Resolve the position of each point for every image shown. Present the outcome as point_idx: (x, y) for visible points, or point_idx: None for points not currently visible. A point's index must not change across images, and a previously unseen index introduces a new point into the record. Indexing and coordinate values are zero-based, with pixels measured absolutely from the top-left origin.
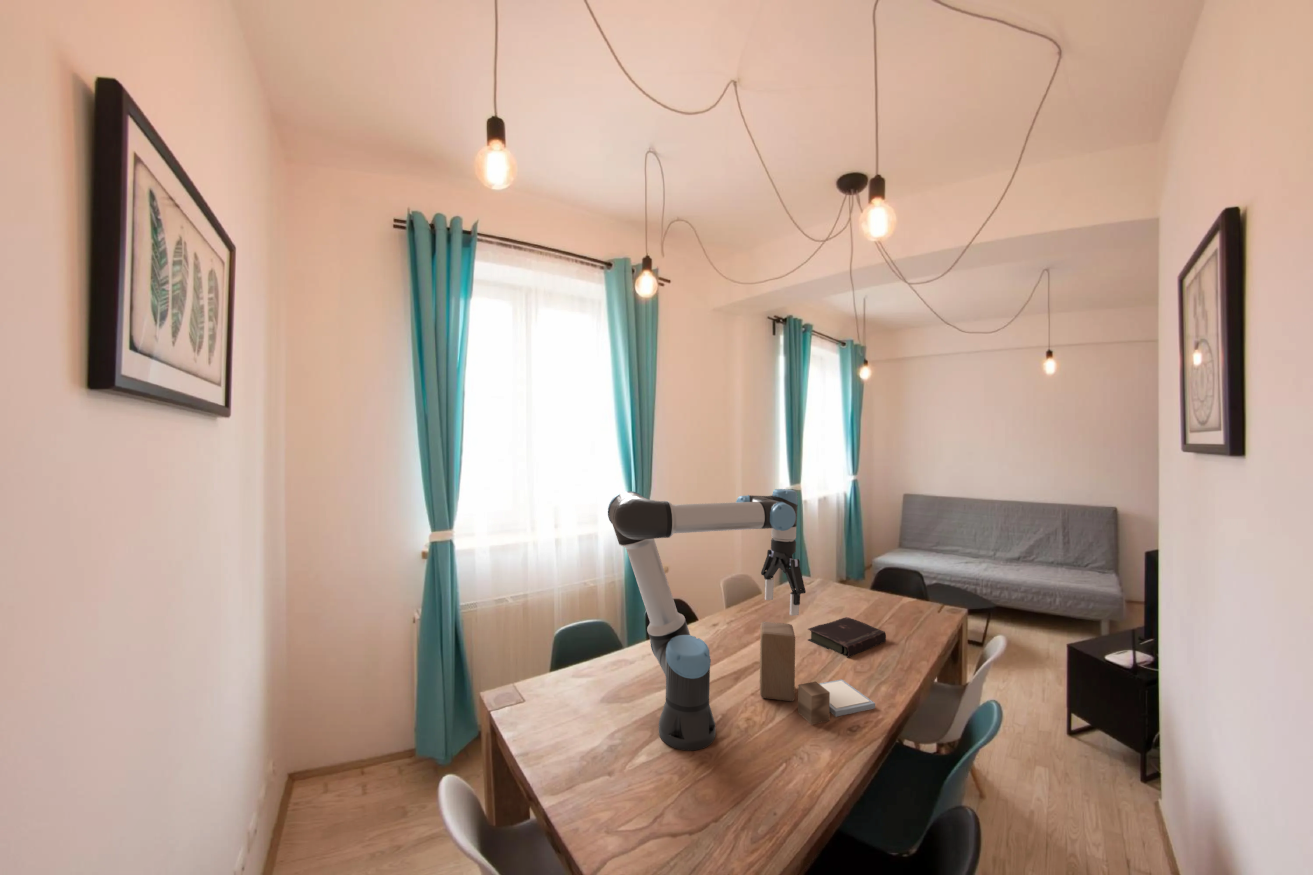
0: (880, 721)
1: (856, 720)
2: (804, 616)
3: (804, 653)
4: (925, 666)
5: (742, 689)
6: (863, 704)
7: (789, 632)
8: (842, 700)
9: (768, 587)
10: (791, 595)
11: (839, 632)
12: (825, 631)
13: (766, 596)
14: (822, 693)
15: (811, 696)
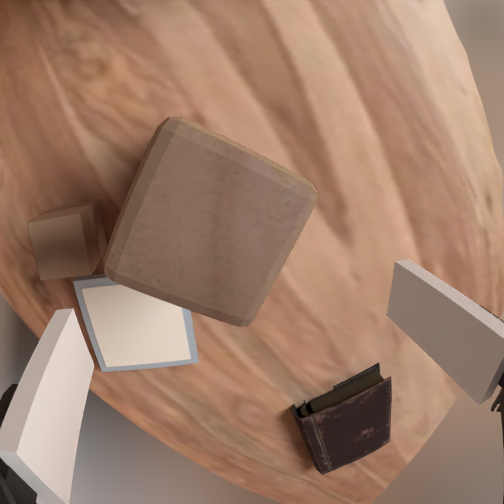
0: None
1: None
2: (438, 381)
3: (338, 338)
4: (229, 478)
5: (227, 102)
6: (97, 349)
7: (138, 270)
8: (110, 318)
9: (453, 324)
10: (4, 431)
11: (353, 423)
12: (368, 403)
13: (410, 275)
14: (35, 258)
15: (28, 222)
